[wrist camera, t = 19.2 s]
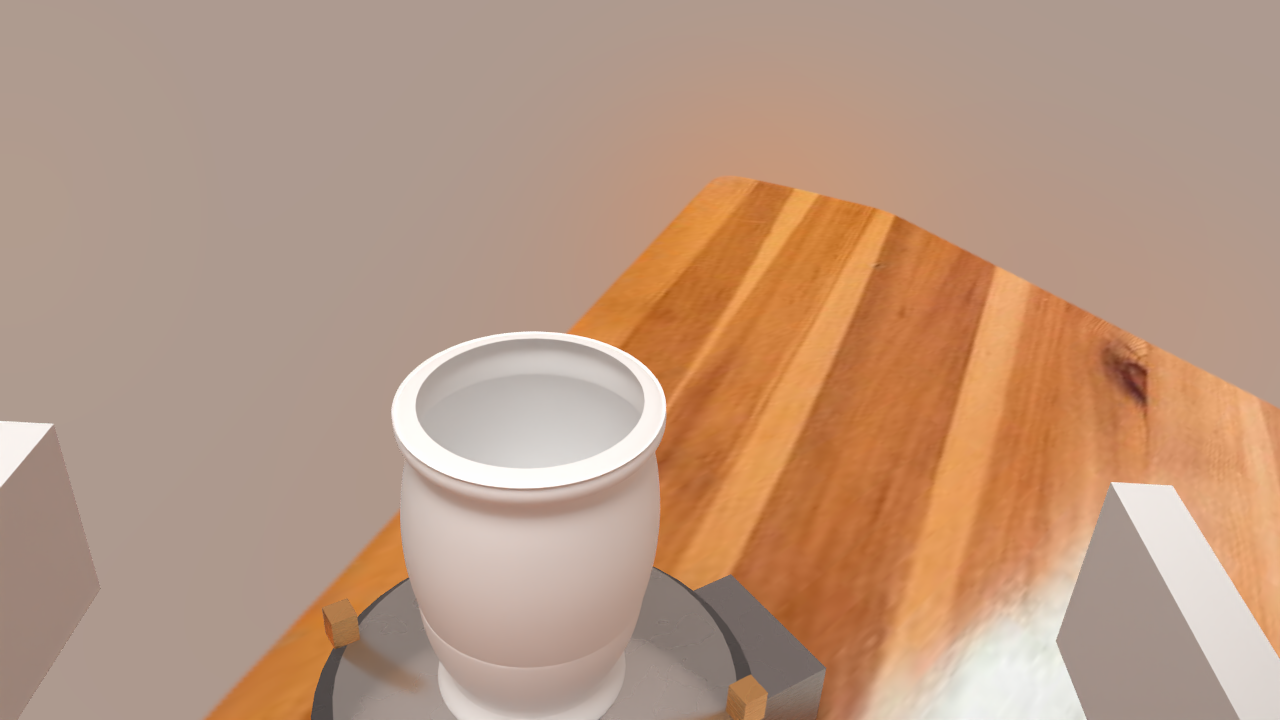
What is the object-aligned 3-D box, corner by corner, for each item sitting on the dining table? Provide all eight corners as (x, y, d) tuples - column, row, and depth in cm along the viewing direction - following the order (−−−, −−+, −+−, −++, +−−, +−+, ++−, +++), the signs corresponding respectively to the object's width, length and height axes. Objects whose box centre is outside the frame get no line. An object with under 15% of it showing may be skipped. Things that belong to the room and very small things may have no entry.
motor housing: (664, 576, 68) (676, 438, 63) (893, 818, 54) (933, 668, 49) (272, 744, 56) (243, 592, 51) (436, 1109, 42) (421, 955, 37)
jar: (558, 814, 44) (562, 524, 36) (364, 697, 48) (329, 417, 40) (689, 647, 51) (717, 379, 43) (512, 560, 56) (508, 302, 48)
